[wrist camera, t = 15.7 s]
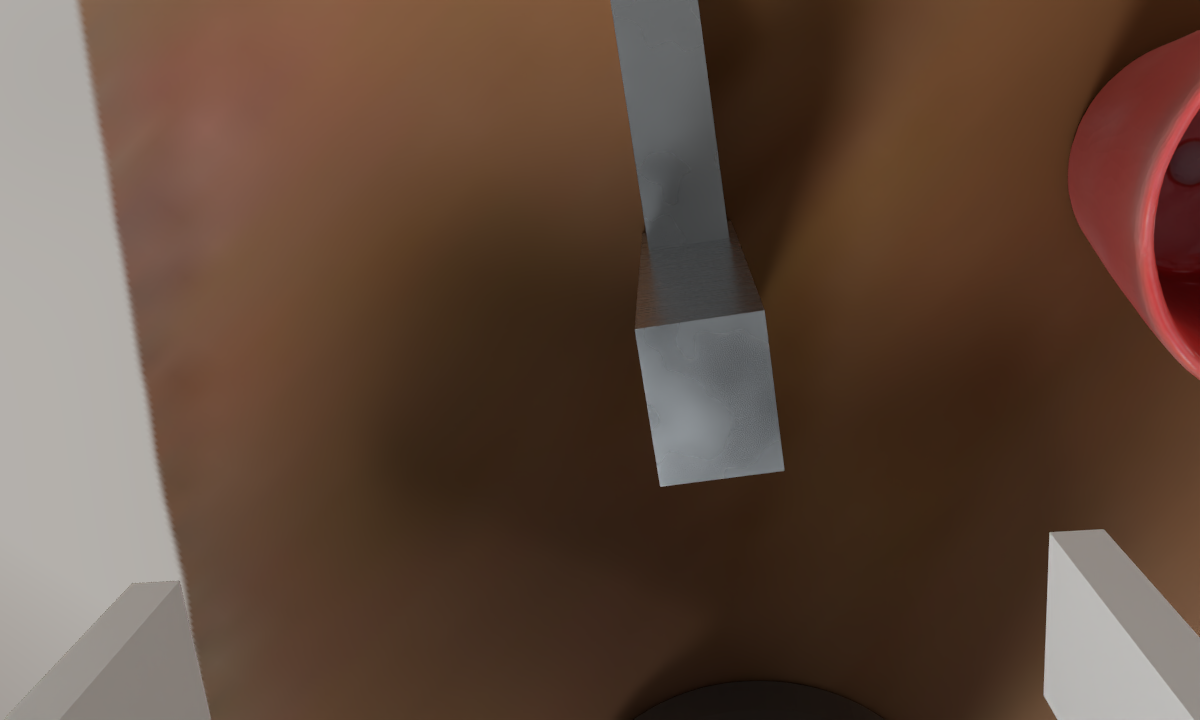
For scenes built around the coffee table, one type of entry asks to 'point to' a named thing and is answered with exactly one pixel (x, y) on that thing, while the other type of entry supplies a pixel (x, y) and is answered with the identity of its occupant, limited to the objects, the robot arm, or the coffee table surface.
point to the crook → (691, 263)
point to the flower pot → (1147, 189)
